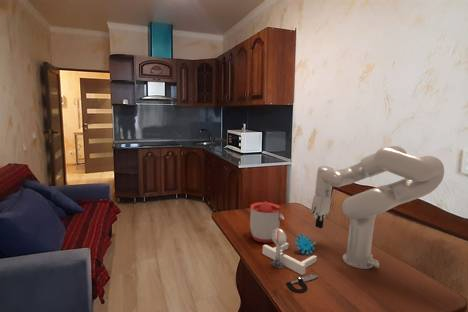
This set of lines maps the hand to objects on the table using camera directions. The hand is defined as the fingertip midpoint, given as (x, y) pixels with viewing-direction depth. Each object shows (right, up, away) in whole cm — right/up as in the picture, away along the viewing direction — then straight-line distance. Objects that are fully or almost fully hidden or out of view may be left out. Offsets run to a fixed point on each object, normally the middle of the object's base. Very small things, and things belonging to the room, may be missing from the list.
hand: (319, 227), depth 142 cm
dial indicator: (-23, -11, -19) cm, 32 cm away
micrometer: (-15, -15, -33) cm, 39 cm away
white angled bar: (-17, -11, -14) cm, 25 cm away
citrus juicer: (-26, -8, +6) cm, 28 cm away
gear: (-9, -10, -6) cm, 15 cm away
